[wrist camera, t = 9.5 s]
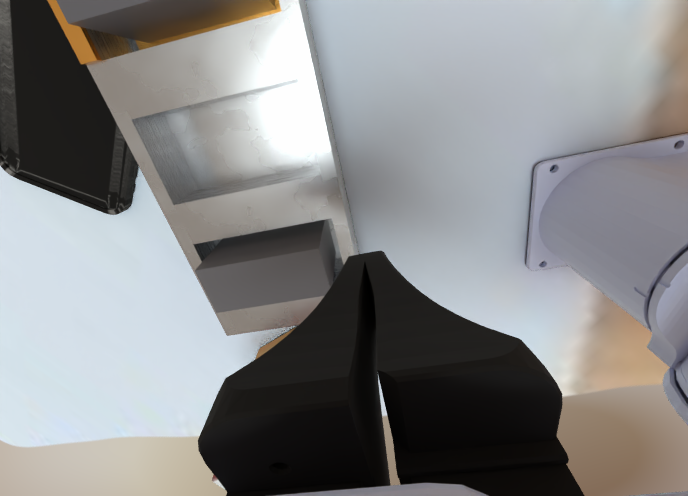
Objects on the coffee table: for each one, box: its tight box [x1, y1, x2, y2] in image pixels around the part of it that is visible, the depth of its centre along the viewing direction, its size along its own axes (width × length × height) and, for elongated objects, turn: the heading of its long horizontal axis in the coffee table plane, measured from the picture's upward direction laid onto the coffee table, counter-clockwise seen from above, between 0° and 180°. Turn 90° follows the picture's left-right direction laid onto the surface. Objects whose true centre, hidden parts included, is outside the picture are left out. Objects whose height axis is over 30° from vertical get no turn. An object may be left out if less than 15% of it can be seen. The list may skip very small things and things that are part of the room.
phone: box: [0, 0, 138, 215], centre depth 17 cm, size 8×1×15 cm
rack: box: [47, 0, 359, 336], centre depth 17 cm, size 10×24×4 cm, turn 12°
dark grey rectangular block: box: [195, 219, 336, 313], centre depth 19 cm, size 7×3×5 cm, turn 102°
